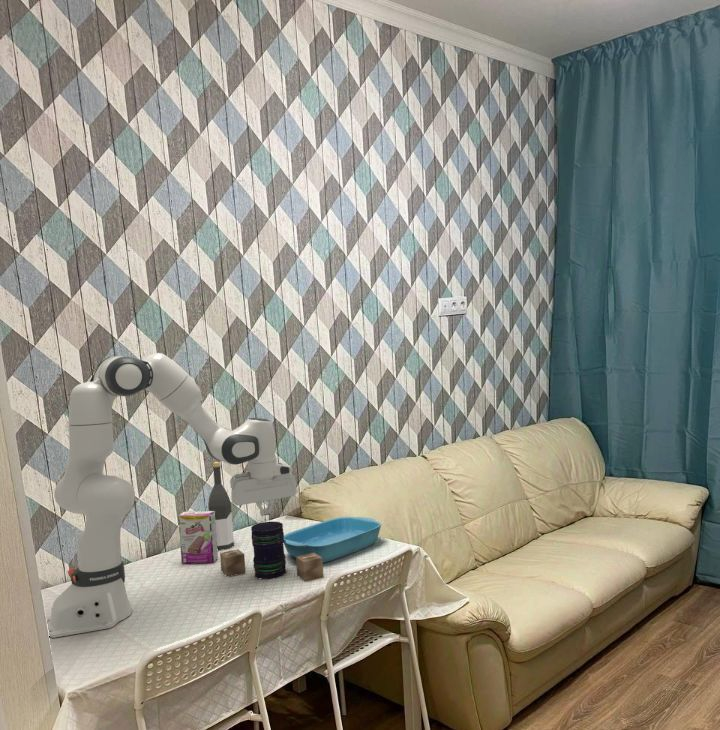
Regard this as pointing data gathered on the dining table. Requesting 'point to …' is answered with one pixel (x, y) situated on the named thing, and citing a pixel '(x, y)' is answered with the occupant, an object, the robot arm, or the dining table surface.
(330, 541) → the casserole dish
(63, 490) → the robot arm
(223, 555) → the walnut block seven
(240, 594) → the dining table surface
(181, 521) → the candy bar box
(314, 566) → the walnut block one
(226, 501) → the wine bottle
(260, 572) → the dark blue rusty barrel
